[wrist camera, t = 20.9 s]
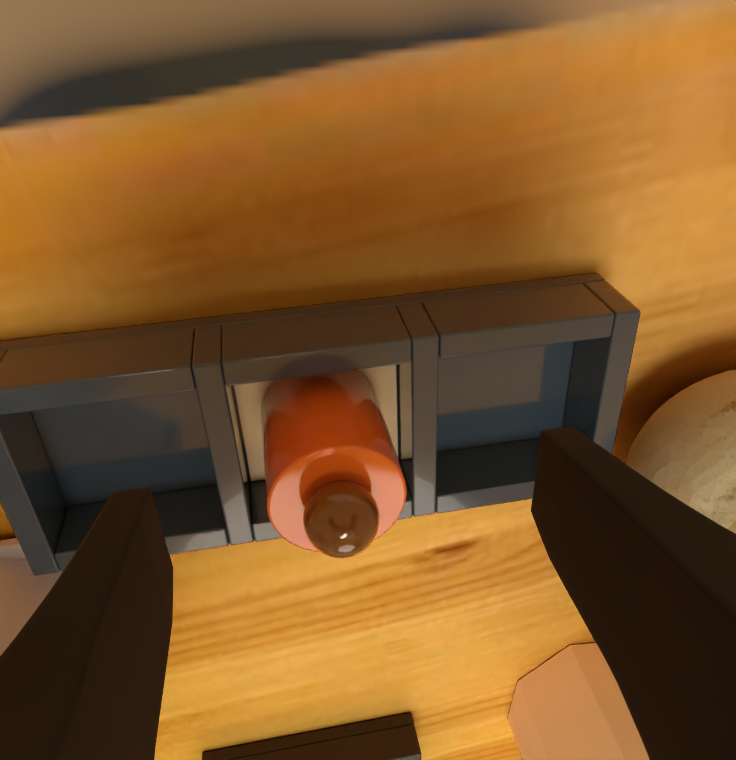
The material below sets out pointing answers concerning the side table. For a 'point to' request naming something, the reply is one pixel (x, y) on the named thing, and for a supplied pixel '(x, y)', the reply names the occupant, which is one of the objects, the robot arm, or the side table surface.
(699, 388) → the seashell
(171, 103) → the side table surface
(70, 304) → the side table surface
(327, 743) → the tray
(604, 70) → the side table surface
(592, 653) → the mug
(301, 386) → the orange cylinder with knob
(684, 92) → the side table surface
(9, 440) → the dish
